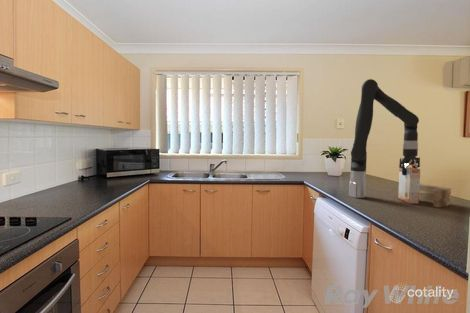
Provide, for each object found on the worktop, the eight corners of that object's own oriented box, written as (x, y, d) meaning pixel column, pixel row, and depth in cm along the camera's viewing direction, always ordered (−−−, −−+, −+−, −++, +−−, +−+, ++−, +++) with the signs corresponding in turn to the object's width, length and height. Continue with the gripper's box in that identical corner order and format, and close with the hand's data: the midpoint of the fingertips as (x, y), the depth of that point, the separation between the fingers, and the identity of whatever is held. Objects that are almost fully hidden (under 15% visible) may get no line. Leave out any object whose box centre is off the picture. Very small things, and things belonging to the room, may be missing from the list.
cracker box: (419, 204, 160) (421, 168, 158) (408, 203, 161) (409, 168, 159) (407, 198, 174) (409, 166, 172) (397, 198, 175) (399, 166, 173)
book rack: (437, 207, 153) (438, 189, 153) (403, 199, 173) (404, 183, 172) (449, 205, 157) (450, 188, 156) (414, 197, 176) (415, 182, 176)
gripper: (412, 147, 171) (411, 173, 172) (396, 148, 166) (395, 174, 167) (424, 148, 164) (423, 175, 165) (407, 148, 159) (406, 176, 160)
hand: (409, 174), depth 166 cm, fingers closed on cracker box, 8 cm apart
